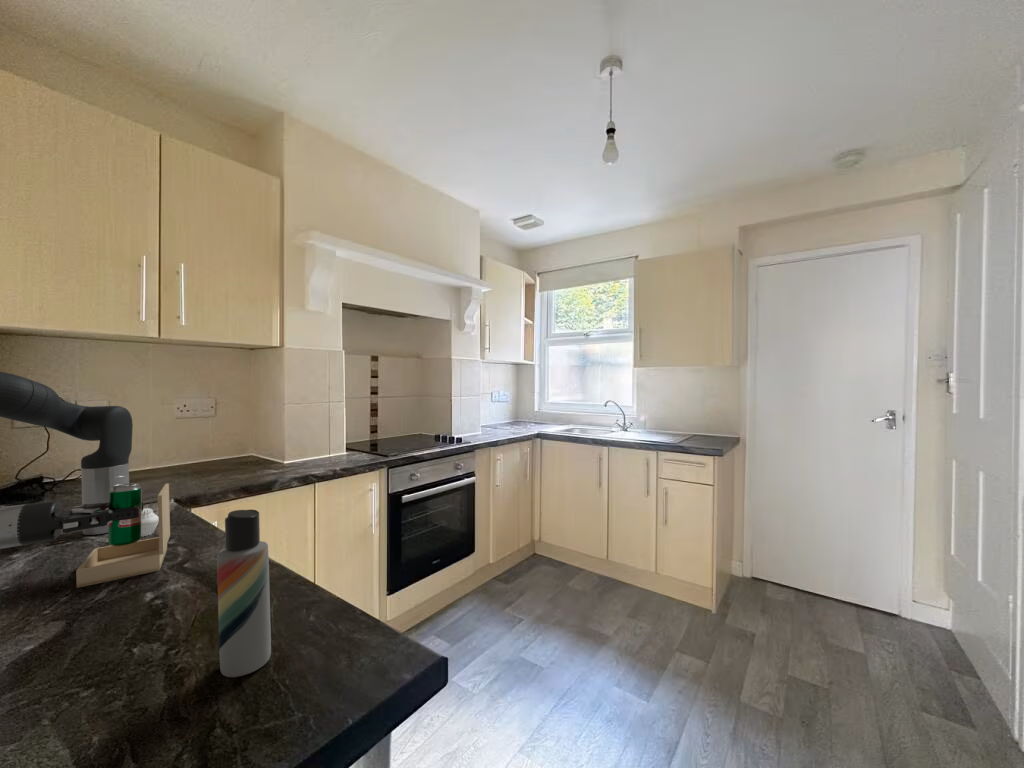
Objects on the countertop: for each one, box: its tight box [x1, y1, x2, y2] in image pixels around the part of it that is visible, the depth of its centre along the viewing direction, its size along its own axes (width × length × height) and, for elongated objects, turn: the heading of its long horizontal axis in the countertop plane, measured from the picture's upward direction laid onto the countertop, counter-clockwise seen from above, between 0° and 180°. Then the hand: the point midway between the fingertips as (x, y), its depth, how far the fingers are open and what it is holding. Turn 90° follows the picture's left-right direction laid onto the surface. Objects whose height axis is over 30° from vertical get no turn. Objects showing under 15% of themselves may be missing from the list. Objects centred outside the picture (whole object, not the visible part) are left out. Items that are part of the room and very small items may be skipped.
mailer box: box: [75, 483, 171, 589], centre depth 88 cm, size 14×13×15 cm
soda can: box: [107, 482, 143, 546], centre depth 88 cm, size 5×5×12 cm
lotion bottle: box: [216, 509, 272, 678], centre depth 55 cm, size 6×6×20 cm
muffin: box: [141, 507, 159, 538], centre depth 107 cm, size 6×6×7 cm
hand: (140, 509), depth 89 cm, fingers closed on soda can, 5 cm apart
